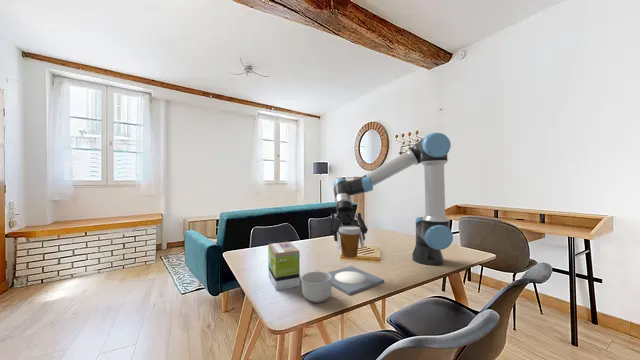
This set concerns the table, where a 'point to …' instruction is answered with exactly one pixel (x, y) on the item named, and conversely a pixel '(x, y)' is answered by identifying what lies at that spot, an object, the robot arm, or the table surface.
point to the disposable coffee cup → (349, 240)
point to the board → (353, 280)
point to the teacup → (316, 286)
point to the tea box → (284, 265)
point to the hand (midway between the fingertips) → (351, 247)
